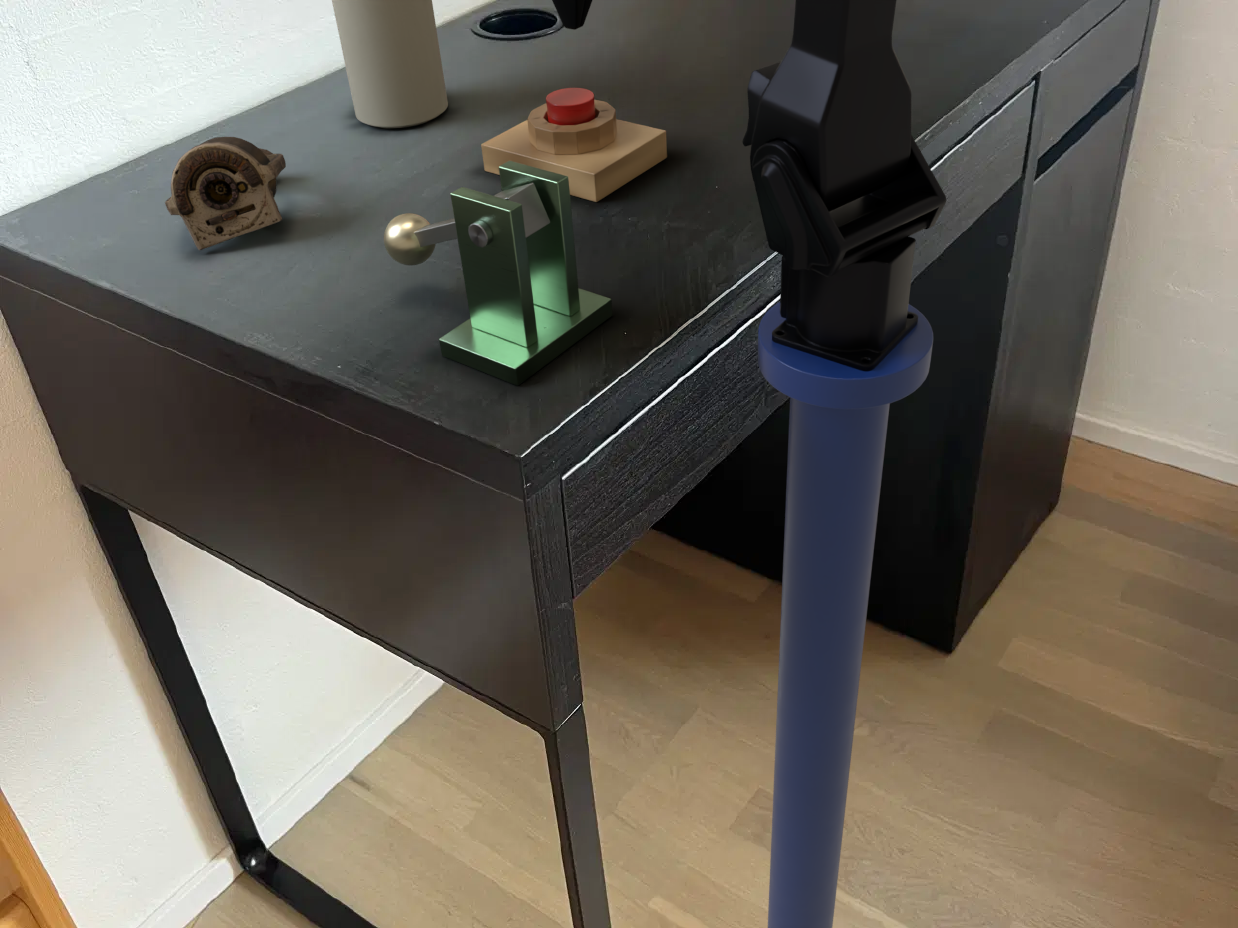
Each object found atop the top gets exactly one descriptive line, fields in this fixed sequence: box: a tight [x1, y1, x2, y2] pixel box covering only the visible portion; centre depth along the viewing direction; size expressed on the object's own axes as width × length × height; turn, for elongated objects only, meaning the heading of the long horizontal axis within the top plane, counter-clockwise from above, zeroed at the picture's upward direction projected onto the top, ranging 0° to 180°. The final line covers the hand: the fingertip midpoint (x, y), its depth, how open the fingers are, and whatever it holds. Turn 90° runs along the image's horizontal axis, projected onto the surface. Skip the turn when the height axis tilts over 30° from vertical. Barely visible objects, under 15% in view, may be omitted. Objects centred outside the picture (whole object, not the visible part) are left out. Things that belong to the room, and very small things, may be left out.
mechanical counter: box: [164, 136, 287, 251], centre depth 82 cm, size 7×13×10 cm
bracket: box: [438, 161, 613, 387], centre depth 66 cm, size 6×9×10 cm, turn 143°
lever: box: [383, 183, 550, 266], centre depth 68 cm, size 13×3×3 cm, turn 53°
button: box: [545, 87, 596, 125], centre depth 85 cm, size 4×4×2 cm
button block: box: [480, 98, 668, 203], centre depth 87 cm, size 11×9×4 cm
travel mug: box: [331, 0, 449, 129], centre depth 93 cm, size 8×8×18 cm
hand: (573, 27), depth 76 cm, fingers closed
